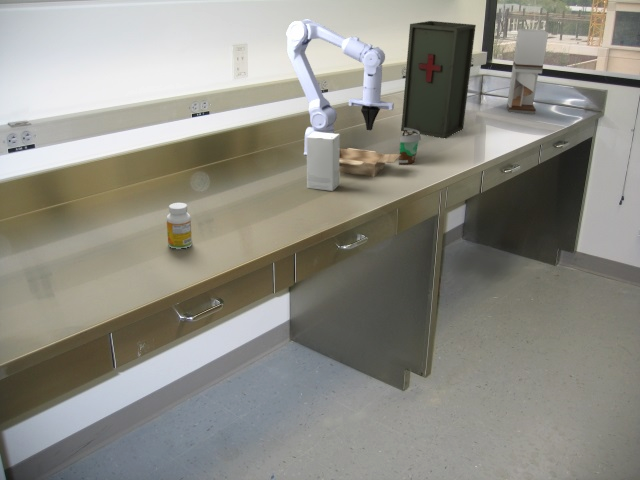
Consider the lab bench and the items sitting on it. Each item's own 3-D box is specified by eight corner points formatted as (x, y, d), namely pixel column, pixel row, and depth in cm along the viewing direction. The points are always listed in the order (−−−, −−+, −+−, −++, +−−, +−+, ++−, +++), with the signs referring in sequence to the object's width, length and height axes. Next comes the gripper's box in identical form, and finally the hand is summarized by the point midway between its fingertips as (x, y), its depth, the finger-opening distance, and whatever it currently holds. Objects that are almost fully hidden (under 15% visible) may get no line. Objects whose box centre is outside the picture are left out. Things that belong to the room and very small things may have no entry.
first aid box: (463, 129, 262) (475, 24, 246) (445, 138, 247) (457, 28, 231) (420, 122, 271) (430, 20, 255) (401, 130, 256) (410, 23, 240)
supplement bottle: (169, 240, 152) (167, 201, 149) (193, 240, 153) (191, 201, 149) (166, 250, 148) (164, 209, 144) (191, 250, 148) (189, 209, 144)
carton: (325, 169, 207) (325, 156, 205) (341, 157, 220) (341, 144, 218) (373, 176, 202) (374, 163, 200) (387, 163, 215) (388, 150, 213)
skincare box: (339, 185, 193) (341, 133, 187) (332, 192, 187) (334, 139, 181) (312, 181, 195) (314, 130, 189) (305, 188, 190) (306, 135, 183)
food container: (417, 167, 212) (420, 137, 208) (398, 166, 213) (400, 136, 209) (419, 157, 223) (422, 128, 219) (401, 155, 224) (404, 127, 220)
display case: (508, 112, 294) (520, 31, 280) (506, 107, 304) (518, 28, 290) (535, 114, 292) (548, 32, 278) (532, 109, 302) (544, 30, 288)
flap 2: (377, 161, 201) (393, 161, 199) (385, 154, 209) (400, 154, 207) (377, 162, 201) (393, 162, 199) (385, 155, 209) (401, 155, 207)
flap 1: (334, 158, 204) (328, 161, 199) (334, 157, 203) (329, 160, 199) (365, 163, 200) (360, 165, 196) (365, 161, 200) (360, 164, 196)
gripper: (346, 87, 207) (344, 129, 212) (390, 91, 202) (387, 135, 208) (353, 83, 213) (351, 125, 218) (396, 88, 208) (393, 130, 214)
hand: (369, 129), depth 213 cm, fingers closed
